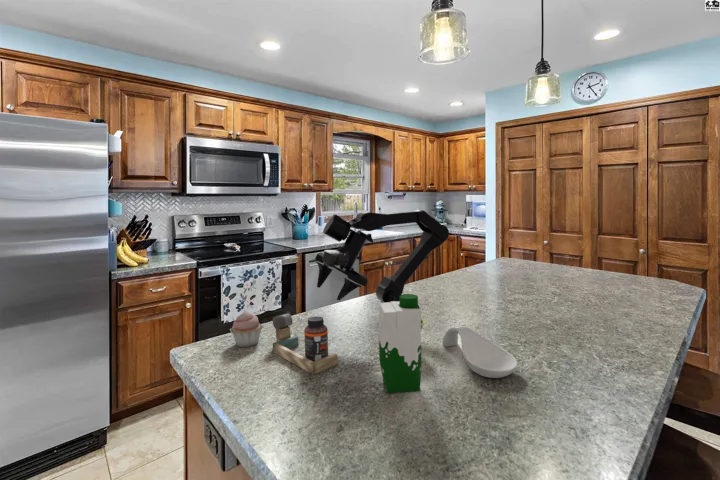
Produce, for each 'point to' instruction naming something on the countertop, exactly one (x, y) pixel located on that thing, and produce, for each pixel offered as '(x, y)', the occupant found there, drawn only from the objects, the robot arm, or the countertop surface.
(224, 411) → the countertop surface
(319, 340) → the supplement bottle
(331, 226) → the robot arm
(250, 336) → the cupcake
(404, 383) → the milk carton
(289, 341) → the frame
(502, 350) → the spoon rest
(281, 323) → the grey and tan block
